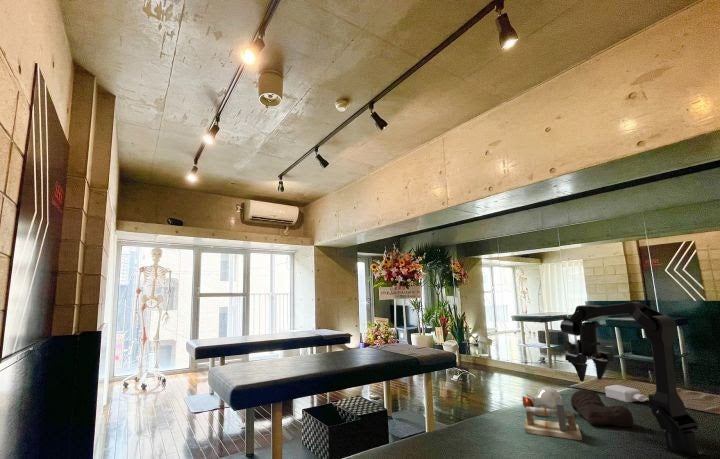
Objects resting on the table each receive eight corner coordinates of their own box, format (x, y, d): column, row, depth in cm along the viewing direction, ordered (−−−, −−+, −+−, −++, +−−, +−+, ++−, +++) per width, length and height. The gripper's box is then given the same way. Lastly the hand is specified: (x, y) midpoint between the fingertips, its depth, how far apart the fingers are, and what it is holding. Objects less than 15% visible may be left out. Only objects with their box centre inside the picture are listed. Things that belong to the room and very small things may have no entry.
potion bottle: (565, 414, 140) (532, 422, 137) (549, 394, 148) (518, 401, 146) (570, 399, 136) (536, 406, 133) (553, 379, 144) (521, 386, 142)
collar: (564, 422, 122) (561, 398, 124) (566, 430, 115) (563, 405, 117) (558, 421, 123) (555, 398, 125) (560, 429, 116) (556, 404, 118)
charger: (641, 407, 142) (606, 397, 156) (656, 404, 145) (620, 395, 159) (639, 395, 143) (604, 386, 157) (654, 392, 146) (618, 384, 160)
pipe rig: (578, 429, 121) (575, 407, 123) (581, 440, 112) (578, 416, 114) (525, 422, 129) (523, 401, 130) (525, 432, 120) (522, 410, 121)
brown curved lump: (633, 407, 120) (610, 388, 135) (586, 409, 122) (568, 390, 137) (637, 435, 120) (613, 413, 134) (590, 436, 122) (572, 414, 137)
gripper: (586, 333, 143) (588, 372, 141) (552, 335, 137) (553, 375, 135) (613, 338, 132) (616, 381, 130) (578, 340, 126) (580, 384, 124)
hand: (590, 380), depth 130 cm, fingers open, 9 cm apart
